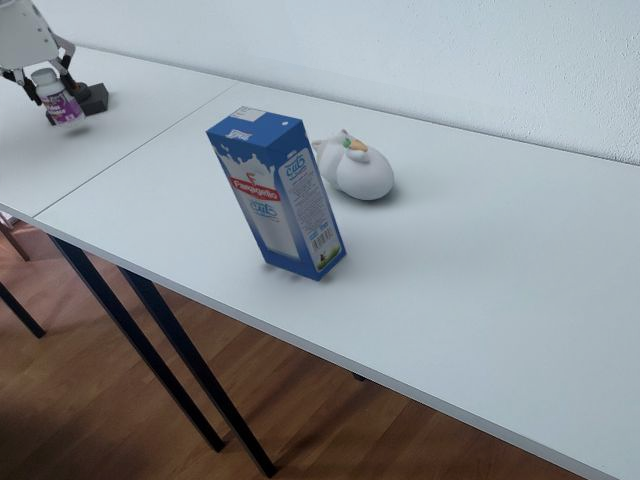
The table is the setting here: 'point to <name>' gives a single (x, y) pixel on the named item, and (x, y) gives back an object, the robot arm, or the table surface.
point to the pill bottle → (57, 98)
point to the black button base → (89, 99)
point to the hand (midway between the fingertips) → (56, 97)
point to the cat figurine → (353, 166)
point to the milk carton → (279, 190)
